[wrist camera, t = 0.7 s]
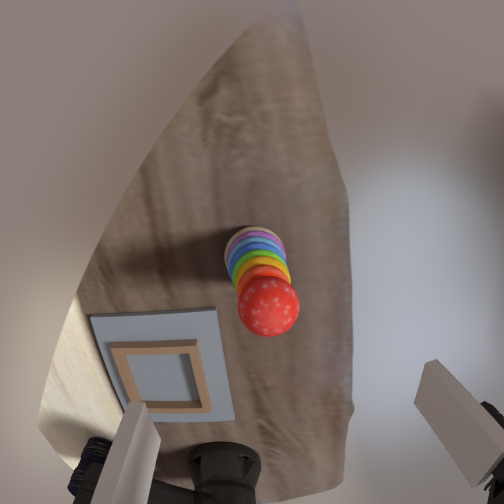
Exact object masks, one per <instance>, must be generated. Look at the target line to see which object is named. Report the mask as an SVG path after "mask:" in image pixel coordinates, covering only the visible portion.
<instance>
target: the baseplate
mask: <svg viewBox="0 0 504 504" xmlns="http://www.w3.org/2000/svg"><path fill="white" fill-rule="evenodd" d="M90 320H91V323H92V326H93V329H94V333H95V336H96V339H97V342H98V345H99V348H100V351H101V354H102V356H103V359H104V362H105V365H106V367H107V370H108V372H109V375H110V378H111V380H112V383H113V385H114V387H115V390H116V392H117V395H118V397H119V399H120V402H121V404H122V406H123V408H124V410H125V411H126V408H127V406H128V403H129V401H131V402H145V404H146V407H147V409H148V412H149V414H150V416H151V419H152V421H153V422H215V421H232V420H235V415H234V410H233V405H232V399H231V394H230V388H229V383H228V377H227V371H226V365H225V359H224V353H223V347H222V341H221V335H220V328H219V322H218V315H217V308H216V307H208V308H196V309H183V310H169V311H154V312H136V313H115V314H93V315H92V316H91V317H90Z"/></svg>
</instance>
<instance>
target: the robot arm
mask: <svg viewBox="0 0 504 504" xmlns="http://www.w3.org/2000/svg"><path fill="white" fill-rule="evenodd" d="M414 404H415V405H416V407H417V408H418V410H419V411H420V413H421V414H422V415H423V416H424V418H425V420H426V421H427V422H428V423H429V425H430V427H431V428H432V429H433V431H434V432H435V434H436V435H437V436H438V438H439V439H440V441H441V442H442V444H443V445H444V447H445V448H446V450H447V451H448V452H449V454H450V455H451V457H452V458H453V460H454V461H455V463H456V464H457V466H458V467H459V469H460V470H461V472H462V473H463V474H464V476H465V478H466V479H467V481H468V482H469V484H470V485H471V487H472V488H475V487H477V486H478V485H480V484H481V483H483V482H484V481H486V479H487V478H488V477H489V476H490V475H491V473H492V474H493V476H494V477H493V478H492V479H491V480H490V482H489V483H488V484H487V485H486V486H485V488H484V490H485V491H486V489H487V488H488V487H489V486H490V485H491V486H490V489H489V491H490V492H489V497H488V503H487V504H504V417H503V416H502V414H501V413H500V414H499V411H498V410H497V409H496V408H495V407H494V406H493V405H491V404H489V403H487V402H485V401H484V402H482V403H479V402H478V401H477V400H476V399H475V398H474V397H473V396H472V395H471V393H470V392H469V391H468V390H467V389H466V388H465V387H464V386H463V385H462V384H461V383H460V382H459V381H458V380H457V379H456V378H455V377H454V376H453V375H452V374H451V373H450V372H449V371H448V370H447V369H446V368H445V367H444V366H443V365H442V364H441V363H440V362H439V361H438V360H437V359H436V360H433V361H430V362H427V363H425V365H424V369H423V373H422V377H421V381H420V384H419V388H418V391H417V394H416V398H415V401H414ZM160 442H161V439H160V437H159V435H158V432H157V430H156V428H155V426H154V423H153V421H152V419H151V416H150V414H149V412H148V409H147V407H146V404H145V402H131V401H129V403H128V406H127V408H126V411H125V413H124V416H123V418H122V420H121V423H120V425H119V428H118V430H117V433H116V435H115V438H114V441H113V443H112V446H111V448H110V451H109V454H108V456H107V459H106V461H105V464H99V463H93V464H92V465H91V466H90V467H89V468H88V469H87V470H86V471H85V474H84V476H83V479H82V482H81V484H80V486H79V489H78V491H77V494H76V497H75V500H74V502H73V504H256V498H255V487H256V484H257V481H258V478H259V475H260V472H261V459H260V456H259V455H258V454H257V453H256V452H255V451H254V450H253V449H251V448H249V447H247V446H244V445H241V444H236V443H229V442H215V443H208V444H204V445H201V446H199V447H197V448H195V449H194V450H193V451H192V452H191V453H190V455H189V461H188V468H189V471H190V475H191V478H192V481H193V484H194V487H195V488H194V490H190V489H186V488H182V487H179V486H175V485H171V484H168V483H165V482H162V481H159V480H156V479H153V478H152V477H153V473H154V468H155V464H156V459H157V455H158V451H159V446H160Z"/></svg>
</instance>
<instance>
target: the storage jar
mask: <svg viewBox="0 0 504 504" xmlns="http://www.w3.org/2000/svg"><path fill="white" fill-rule="evenodd" d="M112 443H113V442H111V441H109V440H107V439H104V438H100V437H91V438H90V439H89V440H88V442H87V444H86V446H85V447H84V449H83V452H82V454H81V460H80V462H79V464H78V467H76V468H75V470H74V473H73V474H72V476H71V480H70V483H69V485H68V487H67V488H68V490H69V491H70V493H71V494H72V495H74V496H75V497H76V494H77V491H78V489H79V486H80V484H81V482H82V479H83V476H84V474H85V471H86V470H87V469H88V468H89V467H90V466H91V465H92V464H93V463H99V464H105V461H106V459H107V456H108V454H109V451H110V448H111V446H112Z"/></svg>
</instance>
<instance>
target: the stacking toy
mask: <svg viewBox="0 0 504 504" xmlns="http://www.w3.org/2000/svg"><path fill="white" fill-rule="evenodd" d="M224 259H225V265H226V268H227V270H228V274H229V276H230V279H231V282H232V284H233V286H234V288H235V290H236V292H237V295H238V299H239V301H238V312H239V316H240V319H241V321H242V322H243V324H244V325H245V327H246V328H247V329H249V330H250V331H251V332H253V333H255V334H257V335H260V336H265V337H272V336H277V335H280V334H282V333H284V332H286V331H287V330H288V329H290V328H291V326H292V325H293V324H294V323H295V321H296V319H297V316H298V313H299V299H298V296H297V293H296V291H295V290H294V288H293V287H292V286H291V285H290V283H291V281H290V274H289V272H288V268H287V263H286V253H285V250H284V247H283V244H282V242H281V240H280V239H279V237H278V236H277V235H276V234H275V233H273V232H272V231H271V230H269V229H267V228H264V227H259V226H252V227H247V228H244V229H241V230H240V231H238V232H237V233H235V234H234V235H233V236H232V237H231V239H230V240H229V242H228V243H227V245H226V248H225V254H224Z"/></svg>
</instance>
